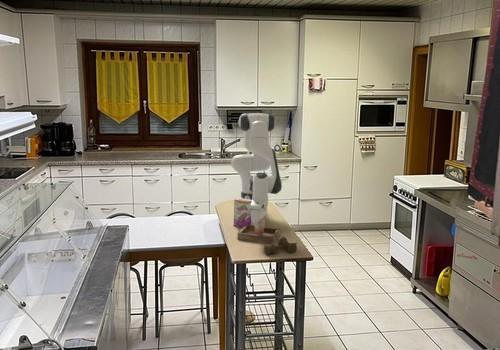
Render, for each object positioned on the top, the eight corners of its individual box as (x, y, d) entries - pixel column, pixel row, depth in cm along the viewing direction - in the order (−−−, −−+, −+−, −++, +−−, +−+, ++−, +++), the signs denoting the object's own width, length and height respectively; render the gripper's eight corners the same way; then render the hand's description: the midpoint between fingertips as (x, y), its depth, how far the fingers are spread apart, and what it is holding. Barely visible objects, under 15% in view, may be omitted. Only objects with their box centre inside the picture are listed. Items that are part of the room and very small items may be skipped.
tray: (246, 230, 262) (246, 224, 261) (279, 234, 256) (279, 228, 255) (237, 239, 247) (237, 233, 246) (272, 243, 241) (272, 237, 240)
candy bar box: (233, 225, 269) (233, 199, 265) (236, 223, 274) (236, 197, 270) (250, 228, 265) (251, 201, 262) (253, 225, 270) (254, 199, 267)
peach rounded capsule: (255, 230, 254) (256, 216, 253) (265, 231, 253) (265, 217, 251) (252, 233, 249) (253, 219, 247) (262, 234, 247) (263, 220, 246)
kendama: (260, 252, 230) (291, 245, 240) (270, 259, 222) (302, 251, 232) (260, 241, 229) (292, 234, 239) (271, 248, 221) (303, 240, 231)
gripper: (259, 197, 258) (258, 220, 261) (249, 206, 239) (248, 231, 242) (270, 198, 256) (269, 221, 259) (260, 207, 237) (259, 232, 240)
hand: (259, 226), depth 250 cm, fingers closed on peach rounded capsule, 6 cm apart
